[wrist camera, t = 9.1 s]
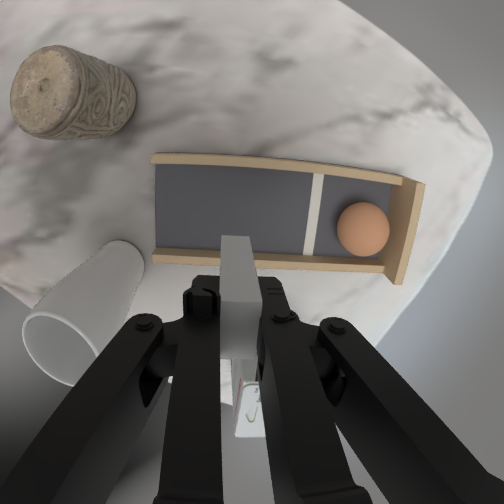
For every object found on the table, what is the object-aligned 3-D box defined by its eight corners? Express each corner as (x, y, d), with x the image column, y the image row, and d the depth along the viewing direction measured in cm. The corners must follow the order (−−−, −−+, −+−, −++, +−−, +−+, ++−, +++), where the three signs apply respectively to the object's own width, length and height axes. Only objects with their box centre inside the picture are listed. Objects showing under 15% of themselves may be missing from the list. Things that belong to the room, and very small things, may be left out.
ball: (341, 241, 31) (327, 256, 27) (347, 194, 29) (333, 202, 25) (387, 252, 29) (380, 269, 25) (395, 203, 27) (390, 213, 23)
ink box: (236, 302, 33) (238, 382, 22) (283, 305, 33) (303, 383, 22) (229, 360, 36) (230, 439, 25) (271, 363, 37) (283, 440, 26)
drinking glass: (119, 218, 29) (40, 291, 15) (165, 265, 31) (122, 365, 17) (83, 259, 30) (9, 341, 16) (127, 301, 32) (77, 400, 18)
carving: (114, 53, 22) (50, 19, 11) (155, 107, 25) (103, 93, 14) (68, 96, 23) (-10, 90, 12) (105, 150, 26) (35, 167, 15)
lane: (157, 252, 30) (145, 274, 26) (157, 152, 26) (142, 157, 22) (381, 263, 32) (401, 284, 27) (399, 174, 28) (425, 184, 24)
